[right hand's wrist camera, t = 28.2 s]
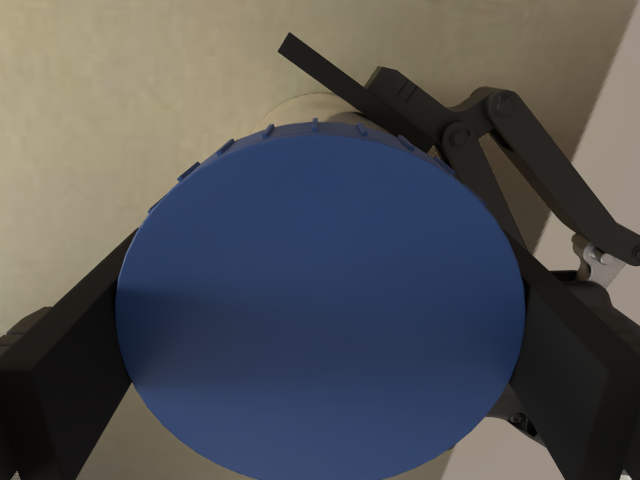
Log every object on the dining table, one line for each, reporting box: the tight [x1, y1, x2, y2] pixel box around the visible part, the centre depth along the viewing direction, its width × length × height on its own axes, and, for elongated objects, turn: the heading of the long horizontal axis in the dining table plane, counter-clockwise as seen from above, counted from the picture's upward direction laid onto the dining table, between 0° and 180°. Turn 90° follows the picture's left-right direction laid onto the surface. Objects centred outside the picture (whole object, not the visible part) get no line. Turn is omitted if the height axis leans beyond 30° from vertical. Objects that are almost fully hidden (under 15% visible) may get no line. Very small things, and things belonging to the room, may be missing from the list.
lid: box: [115, 118, 526, 480], centre depth 11 cm, size 9×9×2 cm
